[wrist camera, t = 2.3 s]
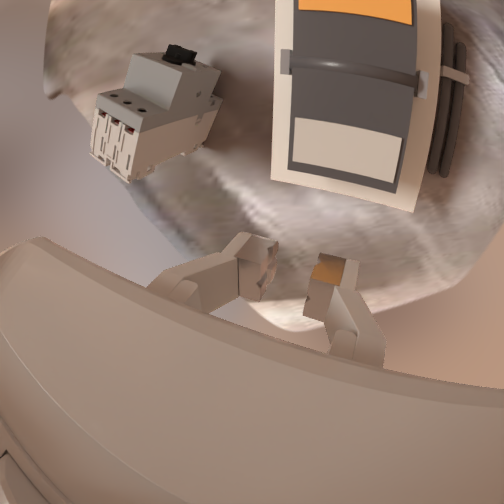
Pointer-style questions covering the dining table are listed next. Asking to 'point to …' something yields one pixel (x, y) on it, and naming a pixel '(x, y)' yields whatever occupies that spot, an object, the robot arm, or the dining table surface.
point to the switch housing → (419, 120)
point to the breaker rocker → (352, 89)
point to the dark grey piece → (460, 81)
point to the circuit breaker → (155, 112)
